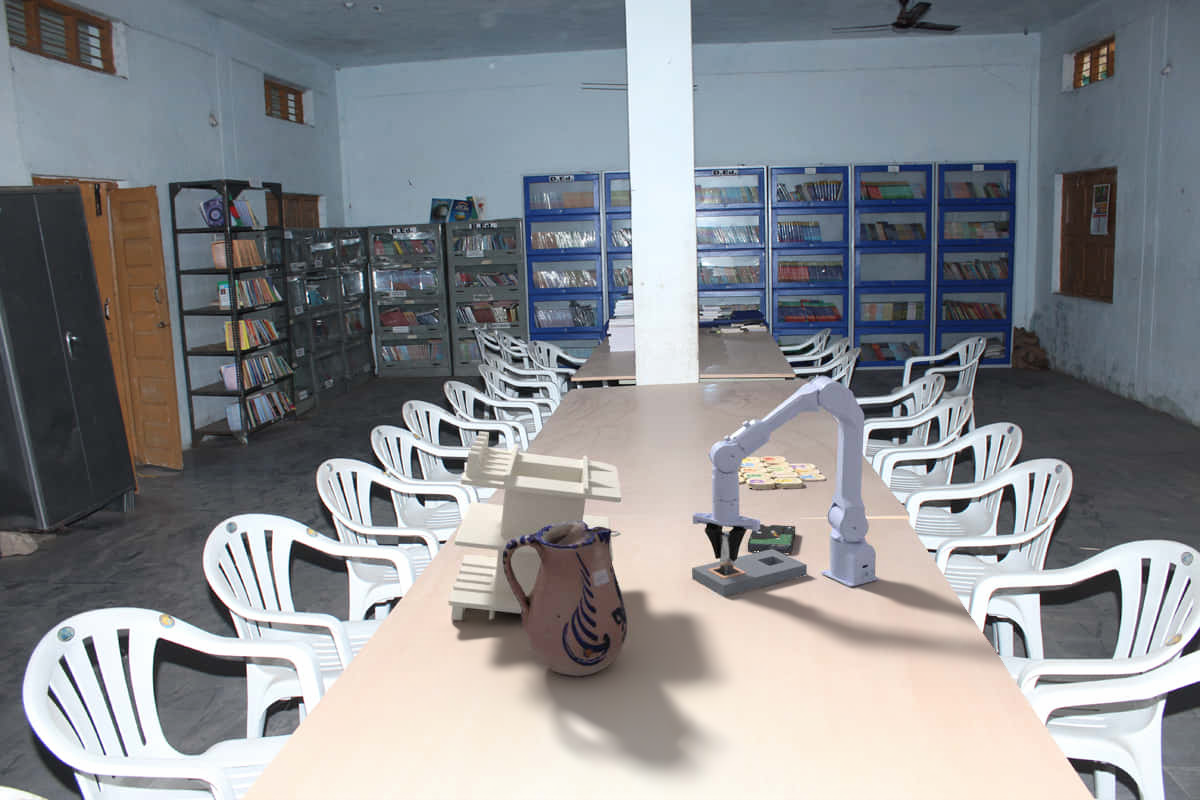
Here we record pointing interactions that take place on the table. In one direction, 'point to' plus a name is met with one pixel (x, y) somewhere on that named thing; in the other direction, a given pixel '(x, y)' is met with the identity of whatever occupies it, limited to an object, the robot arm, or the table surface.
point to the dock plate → (750, 572)
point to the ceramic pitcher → (571, 598)
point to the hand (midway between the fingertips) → (726, 558)
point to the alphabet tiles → (776, 473)
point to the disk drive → (772, 538)
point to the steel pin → (725, 554)
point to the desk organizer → (520, 517)
